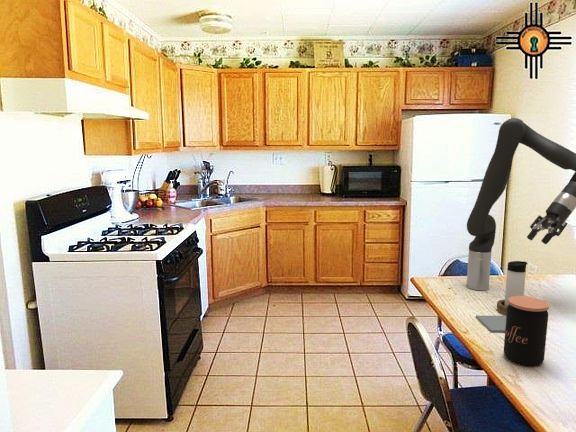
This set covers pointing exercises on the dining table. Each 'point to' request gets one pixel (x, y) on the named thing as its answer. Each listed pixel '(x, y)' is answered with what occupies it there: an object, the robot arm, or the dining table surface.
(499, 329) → the slate mat
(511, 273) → the travel mug
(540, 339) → the coffee jar
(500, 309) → the ring
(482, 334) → the dining table surface
